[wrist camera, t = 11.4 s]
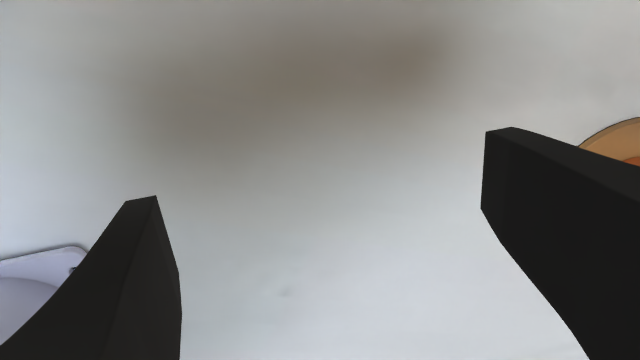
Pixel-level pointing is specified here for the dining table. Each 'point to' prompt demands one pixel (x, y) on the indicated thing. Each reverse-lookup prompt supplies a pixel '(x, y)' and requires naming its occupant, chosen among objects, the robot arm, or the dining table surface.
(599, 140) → the coaster
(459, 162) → the dining table surface
